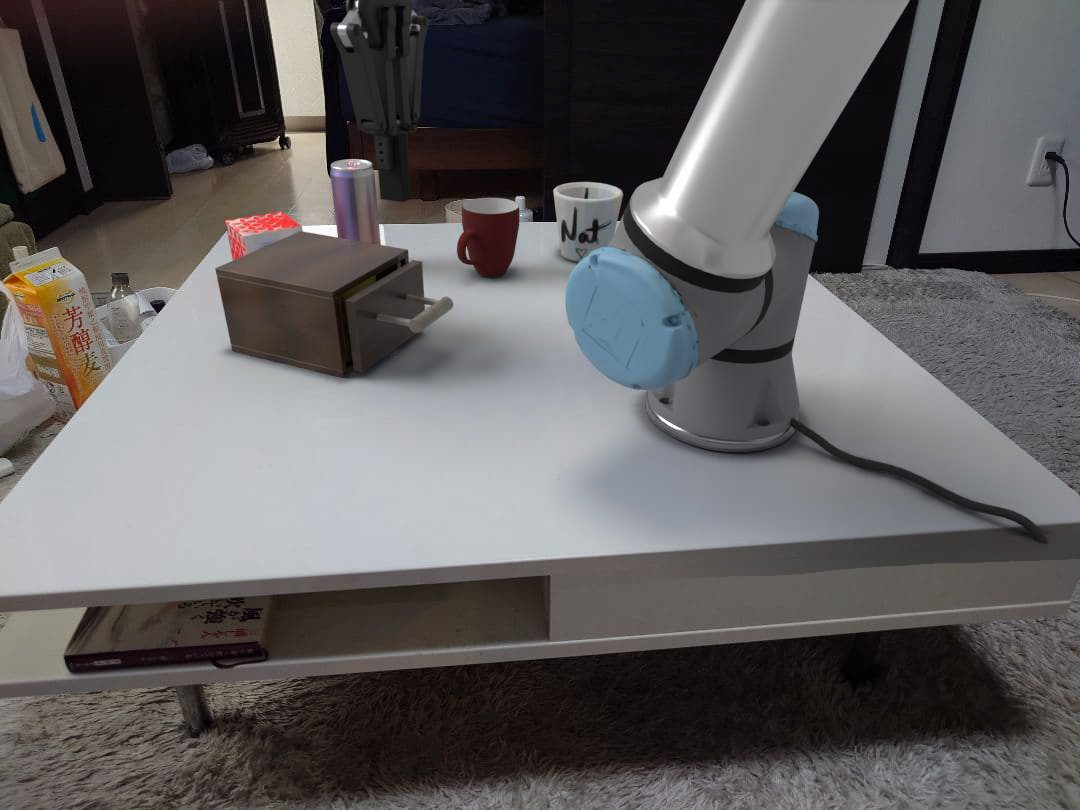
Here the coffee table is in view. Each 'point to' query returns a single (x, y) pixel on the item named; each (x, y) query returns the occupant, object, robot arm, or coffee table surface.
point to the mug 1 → (489, 235)
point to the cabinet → (298, 297)
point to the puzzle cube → (258, 232)
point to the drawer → (387, 314)
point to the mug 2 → (586, 217)
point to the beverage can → (355, 200)
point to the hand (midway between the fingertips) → (395, 198)
